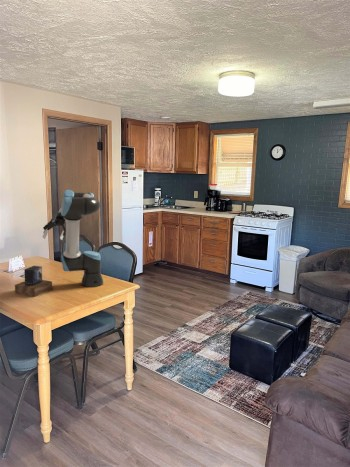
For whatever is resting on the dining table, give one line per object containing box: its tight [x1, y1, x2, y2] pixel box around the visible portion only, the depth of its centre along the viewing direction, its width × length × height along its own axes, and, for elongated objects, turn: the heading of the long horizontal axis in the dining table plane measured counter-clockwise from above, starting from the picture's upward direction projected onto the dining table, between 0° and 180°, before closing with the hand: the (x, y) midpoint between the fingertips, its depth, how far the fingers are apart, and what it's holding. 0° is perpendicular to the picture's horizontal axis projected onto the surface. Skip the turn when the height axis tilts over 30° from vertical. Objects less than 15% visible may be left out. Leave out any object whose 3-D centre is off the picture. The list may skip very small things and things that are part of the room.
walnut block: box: [14, 279, 53, 297], centre depth 224 cm, size 16×16×6 cm
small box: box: [23, 265, 43, 286], centre depth 223 cm, size 11×6×10 cm, turn 168°
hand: (52, 238), depth 243 cm, fingers open, 13 cm apart
